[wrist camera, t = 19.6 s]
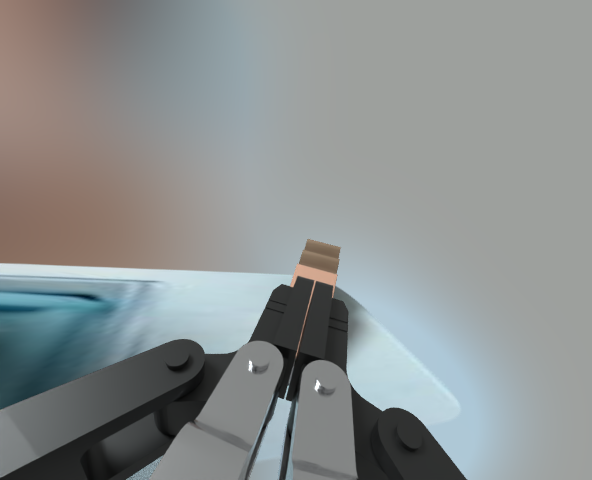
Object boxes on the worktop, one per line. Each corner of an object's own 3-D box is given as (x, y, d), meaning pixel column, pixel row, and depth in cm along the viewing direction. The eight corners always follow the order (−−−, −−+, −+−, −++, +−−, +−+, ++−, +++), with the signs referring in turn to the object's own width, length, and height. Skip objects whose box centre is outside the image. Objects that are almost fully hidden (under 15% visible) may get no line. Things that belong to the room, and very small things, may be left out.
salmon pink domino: (319, 363, 25) (337, 274, 31) (271, 348, 26) (297, 263, 31) (316, 365, 27) (334, 281, 32) (271, 351, 28) (296, 270, 33)
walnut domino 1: (327, 311, 32) (340, 247, 38) (288, 301, 33) (307, 238, 38) (324, 316, 34) (338, 254, 39) (288, 306, 34) (306, 246, 40)
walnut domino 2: (323, 334, 29) (339, 259, 34) (281, 322, 29) (303, 249, 34) (321, 338, 30) (336, 266, 36) (281, 326, 31) (302, 256, 36)
